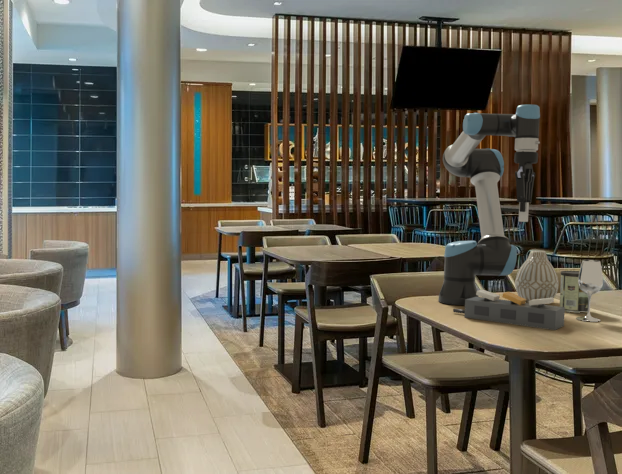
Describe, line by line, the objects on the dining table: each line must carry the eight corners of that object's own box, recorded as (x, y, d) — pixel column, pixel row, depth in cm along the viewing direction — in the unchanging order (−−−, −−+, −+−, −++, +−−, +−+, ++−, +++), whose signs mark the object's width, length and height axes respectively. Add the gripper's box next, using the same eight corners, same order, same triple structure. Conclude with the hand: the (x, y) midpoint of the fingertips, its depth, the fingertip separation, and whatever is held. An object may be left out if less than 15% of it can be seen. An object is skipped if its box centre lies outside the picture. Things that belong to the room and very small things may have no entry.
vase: (526, 297, 273) (528, 248, 272) (564, 303, 262) (567, 251, 260) (506, 301, 262) (508, 250, 260) (545, 307, 251) (548, 253, 249)
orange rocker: (502, 296, 221) (503, 293, 220) (507, 295, 224) (508, 291, 224) (520, 305, 217) (521, 301, 217) (524, 303, 221) (526, 299, 220)
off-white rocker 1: (475, 294, 226) (476, 290, 226) (481, 293, 230) (482, 289, 230) (493, 300, 223) (494, 296, 222) (498, 299, 226) (499, 295, 226)
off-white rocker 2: (529, 305, 215) (528, 300, 216) (534, 303, 219) (533, 299, 219) (549, 303, 212) (548, 299, 212) (553, 301, 215) (553, 297, 215)
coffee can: (586, 309, 248) (588, 271, 247) (592, 314, 238) (594, 274, 237) (556, 307, 250) (558, 269, 249) (561, 312, 240) (563, 273, 239)
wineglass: (571, 317, 231) (574, 259, 229) (593, 317, 231) (596, 259, 230) (582, 322, 223) (585, 261, 221) (605, 322, 223) (608, 262, 222)
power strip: (447, 315, 230) (448, 295, 230) (459, 311, 237) (460, 292, 237) (554, 330, 208) (555, 308, 208) (563, 325, 216) (565, 304, 215)
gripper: (530, 150, 220) (527, 222, 221) (543, 152, 230) (540, 221, 232) (508, 150, 224) (505, 221, 226) (522, 152, 235) (519, 220, 236)
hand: (523, 221), depth 229 cm, fingers closed
